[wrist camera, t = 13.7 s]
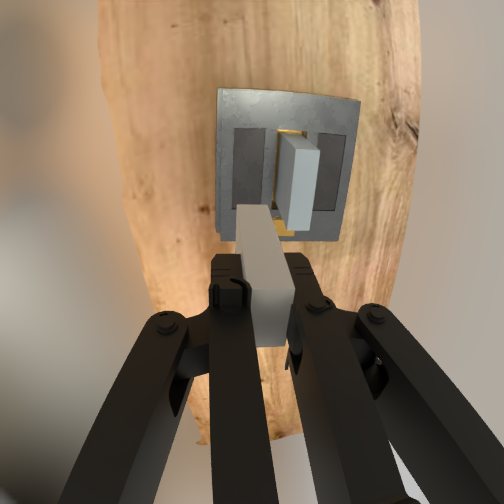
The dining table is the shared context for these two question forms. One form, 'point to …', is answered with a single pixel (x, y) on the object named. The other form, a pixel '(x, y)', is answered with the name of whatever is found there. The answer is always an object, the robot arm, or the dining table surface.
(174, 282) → the dining table surface
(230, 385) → the robot arm
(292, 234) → the panel
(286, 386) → the dining table surface
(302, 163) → the panel
